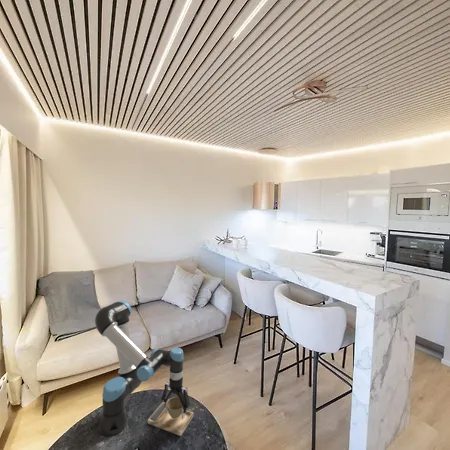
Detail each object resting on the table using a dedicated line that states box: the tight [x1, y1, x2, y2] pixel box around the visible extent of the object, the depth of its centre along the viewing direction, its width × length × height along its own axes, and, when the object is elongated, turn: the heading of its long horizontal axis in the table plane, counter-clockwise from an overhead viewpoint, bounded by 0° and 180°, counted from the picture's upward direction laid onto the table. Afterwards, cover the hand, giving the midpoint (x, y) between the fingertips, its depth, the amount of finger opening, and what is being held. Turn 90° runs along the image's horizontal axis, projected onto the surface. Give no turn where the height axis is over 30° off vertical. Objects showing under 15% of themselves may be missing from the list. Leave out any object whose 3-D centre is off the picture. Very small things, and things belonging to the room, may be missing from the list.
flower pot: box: [167, 396, 183, 418], centre depth 141 cm, size 10×10×7 cm
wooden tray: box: [147, 401, 194, 437], centre depth 142 cm, size 22×14×3 cm
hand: (175, 414), depth 141 cm, fingers closed on flower pot, 10 cm apart
